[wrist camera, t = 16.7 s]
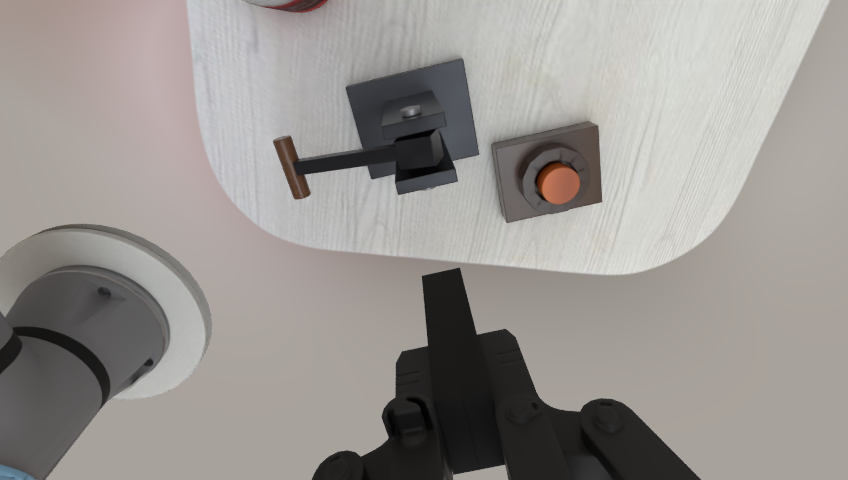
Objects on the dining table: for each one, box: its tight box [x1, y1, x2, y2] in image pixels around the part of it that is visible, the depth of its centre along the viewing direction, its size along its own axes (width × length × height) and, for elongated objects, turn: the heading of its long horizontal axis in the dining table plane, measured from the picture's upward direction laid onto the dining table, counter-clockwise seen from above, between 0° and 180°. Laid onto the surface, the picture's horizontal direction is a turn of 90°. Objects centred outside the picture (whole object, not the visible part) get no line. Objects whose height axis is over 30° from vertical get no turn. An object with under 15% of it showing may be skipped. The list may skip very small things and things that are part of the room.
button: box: [537, 163, 580, 204], centre depth 42 cm, size 4×4×2 cm
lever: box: [273, 129, 444, 199], centre depth 34 cm, size 13×5×2 cm, turn 103°
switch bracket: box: [346, 59, 479, 195], centre depth 37 cm, size 11×9×14 cm
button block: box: [492, 122, 602, 223], centre depth 44 cm, size 10×8×4 cm
